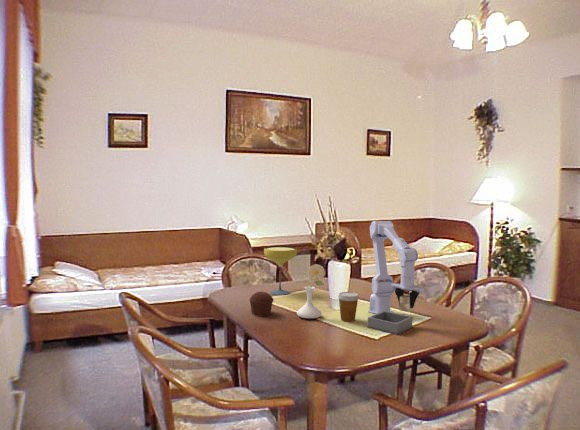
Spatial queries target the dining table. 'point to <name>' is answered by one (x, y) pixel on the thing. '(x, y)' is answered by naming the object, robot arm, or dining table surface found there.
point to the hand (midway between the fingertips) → (406, 306)
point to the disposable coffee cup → (348, 305)
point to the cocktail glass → (280, 260)
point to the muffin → (261, 303)
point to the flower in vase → (309, 309)
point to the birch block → (405, 303)
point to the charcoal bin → (390, 322)
